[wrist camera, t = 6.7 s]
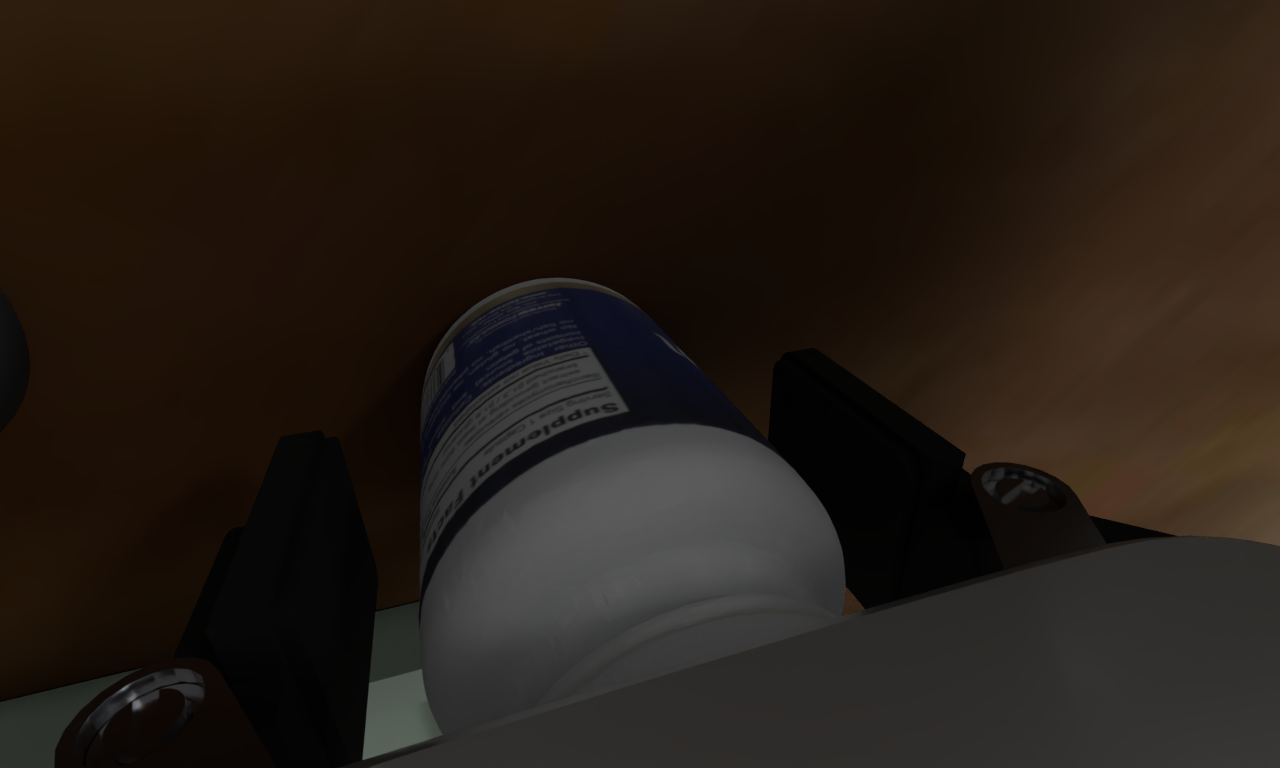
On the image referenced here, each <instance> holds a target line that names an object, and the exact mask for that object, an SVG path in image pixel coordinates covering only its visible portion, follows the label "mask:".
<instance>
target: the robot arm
mask: <svg viewBox="0 0 1280 768" xmlns="http://www.w3.org/2000/svg"><path fill="white" fill-rule="evenodd" d="M768 441H769V442H770V443H771V444H772V445H773V446H774V447H775V448H776V449H777V450H778V452H779V453H780V454H781V455H782V456H783V458H784V459H785V460H786V461H787V462H788V463H789V464H790V465H791V466H792V467H793V468H794V470H795V471H796V472H797V473H798V474H799V475H800V477H801V478H802V479H803V480H804V481H805V483H806V484H807V485H808V486H809V487H810V489H811V490H812V491H813V492H814V493H815V495H816V496H817V497H818V499H819V500H820V502H821V503H822V505H823V506H824V508H825V510H826V511H827V513H828V515H829V517H830V519H831V521H832V523H833V526H834V528H835V530H836V532H837V535H838V538H839V542H840V545H841V548H842V552H843V558H844V567H845V583H846V586H847V588H848V589H849V590H850V591H851V593H852V594H853V595H854V596H855V597H856V599H857V600H858V601H859V602H860V603H861V605H862V606H863V607H864V608H865V610H862V611H858V612H855V613H851V614H848V615H845V616H841V617H838V618H834V619H831V620H827V621H824V622H821V623H817V624H814V625H810V626H807V627H803V628H800V629H797V630H793V631H790V632H786V633H783V634H780V635H776V636H773V637H769V638H766V639H763V640H759V641H756V642H752V643H749V644H746V645H742V646H739V647H735V648H732V649H729V650H725V651H722V652H718V653H715V654H712V655H708V656H705V657H702V658H698V659H695V660H691V661H688V662H685V663H681V664H678V665H674V666H671V667H668V668H664V669H661V670H658V671H654V672H651V673H647V674H644V675H641V676H637V677H634V678H631V679H627V680H624V681H621V682H617V683H614V684H611V685H607V686H604V687H601V688H597V689H594V690H591V691H587V692H584V693H581V694H577V695H574V696H571V697H567V698H564V699H561V700H557V701H554V702H551V703H547V704H544V705H541V706H538V707H534V708H531V709H528V710H524V711H521V712H518V713H514V714H511V715H508V716H504V717H501V718H498V719H494V720H491V721H488V722H484V723H481V724H478V725H474V726H471V727H468V728H464V729H461V730H458V731H454V732H451V733H448V734H445V735H441V736H438V737H435V738H432V739H429V740H425V741H422V742H419V743H416V744H413V745H409V746H406V747H403V748H400V749H397V750H393V751H390V752H387V753H384V754H381V755H377V756H374V757H371V758H368V759H365V760H362V759H363V748H364V737H365V725H366V714H367V702H368V691H369V679H370V668H371V656H372V645H373V634H374V622H375V611H376V599H377V588H378V577H377V569H376V564H375V560H374V557H373V554H372V550H371V547H370V544H369V540H368V537H367V533H366V530H365V527H364V523H363V520H362V517H361V513H360V510H359V506H358V503H357V500H356V496H355V493H354V489H353V486H352V483H351V479H350V476H349V473H348V469H347V466H346V462H345V459H344V456H343V452H342V449H341V446H340V443H339V440H338V438H337V437H330V438H325V436H324V434H323V432H322V431H321V430H319V431H313V432H307V433H301V434H295V435H289V436H283V437H281V438H280V439H279V442H278V444H277V447H276V449H275V452H274V454H273V457H272V460H271V462H270V465H269V467H268V470H267V472H266V475H265V477H264V480H263V483H262V485H261V488H260V490H259V493H258V495H257V498H256V501H255V503H254V506H253V508H252V511H251V513H250V516H249V518H248V521H247V524H246V526H242V527H237V528H233V529H231V530H230V531H229V532H228V533H227V535H226V536H225V538H224V540H223V543H222V545H221V547H220V550H219V552H218V554H217V557H216V559H215V562H214V564H213V566H212V569H211V571H210V573H209V576H208V578H207V580H206V583H205V585H204V587H203V590H202V592H201V594H200V597H199V599H198V601H197V604H196V606H195V608H194V611H193V613H192V616H191V618H190V620H189V623H188V625H187V627H186V630H185V632H184V634H183V637H182V639H181V641H180V644H179V646H178V648H177V651H176V653H175V655H174V658H172V659H169V660H165V661H162V662H158V663H155V664H151V665H148V666H146V667H144V668H142V669H140V670H138V671H135V672H133V673H131V674H129V675H127V676H125V677H123V678H122V679H120V680H119V681H117V682H116V683H114V684H112V685H111V686H109V687H108V688H106V689H105V690H103V691H102V692H100V693H99V694H98V695H97V696H96V697H95V698H94V699H92V700H91V701H90V702H89V703H88V704H87V705H86V706H84V707H83V708H82V709H81V710H80V711H79V712H78V714H77V715H76V716H75V717H74V719H73V720H72V721H71V722H70V724H69V725H68V726H67V727H66V728H65V730H64V731H63V734H62V736H61V738H60V740H59V742H58V744H57V746H56V749H55V758H54V768H1280V546H1277V545H1272V544H1266V543H1261V542H1255V541H1249V540H1242V539H1234V538H1224V537H1205V536H1175V535H1171V534H1167V533H1162V532H1158V531H1154V530H1150V529H1145V528H1141V527H1137V526H1132V525H1128V524H1124V523H1119V522H1115V521H1111V520H1107V519H1102V518H1098V517H1094V516H1089V514H1088V513H1087V511H1086V509H1085V508H1084V506H1083V505H1082V503H1081V501H1080V500H1079V498H1078V497H1077V495H1076V494H1075V493H1074V492H1073V490H1072V489H1071V488H1070V487H1069V486H1068V485H1067V484H1065V483H1064V482H1062V481H1061V480H1059V479H1058V478H1057V477H1055V476H1053V475H1050V474H1048V473H1046V472H1044V471H1042V470H1039V469H1036V468H1033V467H1029V466H1026V465H1021V464H1015V463H1006V462H994V463H988V464H983V465H981V466H979V467H977V468H976V469H974V471H973V472H972V474H969V473H968V472H967V471H965V470H964V469H963V468H962V466H963V462H964V458H965V453H964V452H963V451H961V450H960V449H958V448H957V447H955V446H954V445H953V444H951V443H950V442H948V441H947V440H945V439H944V438H943V437H941V436H940V435H938V434H937V433H935V432H934V431H933V430H931V429H930V428H928V427H927V426H925V425H924V424H923V423H921V422H920V421H918V420H917V419H915V418H914V417H913V416H911V415H910V414H908V413H907V412H905V411H904V410H903V409H901V408H900V407H898V406H897V405H895V404H894V403H893V402H891V401H890V400H888V399H887V398H885V397H884V396H882V395H881V394H880V393H878V392H877V391H875V390H874V389H872V388H871V387H870V386H868V385H867V384H865V383H864V382H862V381H861V380H860V379H858V378H857V377H855V376H854V375H852V374H851V373H850V372H848V371H847V370H845V369H844V368H842V367H841V366H840V365H838V364H837V363H835V362H834V361H832V360H831V359H830V358H828V357H827V356H825V355H824V354H822V353H821V352H820V351H818V350H817V349H814V348H811V349H805V350H799V351H793V352H787V353H785V354H784V355H783V356H782V358H781V361H777V362H776V363H775V365H774V370H773V382H772V395H771V408H770V421H769V435H768Z"/></svg>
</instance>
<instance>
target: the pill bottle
mask: <svg viewBox="0 0 1280 768" xmlns="http://www.w3.org/2000/svg"><path fill="white" fill-rule="evenodd" d="M419 579H420V605H419V635H420V647H421V666H422V675H423V682H424V688H425V693H426V697H427V700H428V703H429V707H430V710H431V712H432V714H433V717H434V719H435V721H436V723H437V725H438V727H439V729H440V731H441V733H442V734H443V735H445V734H448V733H451V732H454V731H458V730H461V729H464V728H468V727H471V726H474V725H478V724H481V723H484V722H488V721H491V720H494V719H498V718H501V717H504V716H508V715H511V714H514V713H518V712H521V711H524V710H528V709H531V708H534V707H538V706H541V705H544V704H547V703H551V702H554V701H557V700H561V699H564V698H567V697H571V696H574V695H577V694H581V693H584V692H587V691H591V690H594V689H597V688H601V687H604V686H607V685H611V684H614V683H617V682H621V681H624V680H627V679H631V678H634V677H637V676H641V675H644V674H647V673H651V672H654V671H658V670H661V669H664V668H668V667H671V666H674V665H678V664H681V663H685V662H688V661H691V660H695V659H698V658H702V657H705V656H708V655H712V654H715V653H718V652H722V651H725V650H729V649H732V648H735V647H739V646H742V645H746V644H749V643H752V642H756V641H759V640H763V639H766V638H769V637H773V636H776V635H780V634H783V633H786V632H790V631H793V630H797V629H800V628H803V627H807V626H810V625H814V624H817V623H821V622H824V621H827V620H831V619H834V618H838V617H841V616H842V612H843V607H844V599H845V585H846V583H845V567H844V558H843V552H842V548H841V545H840V542H839V538H838V535H837V532H836V530H835V528H834V526H833V523H832V521H831V519H830V517H829V515H828V513H827V511H826V510H825V508H824V506H823V505H822V503H821V502H820V500H819V499H818V497H817V496H816V495H815V493H814V492H813V491H812V490H811V489H810V487H809V486H808V485H807V484H806V483H805V481H804V480H803V479H802V478H801V477H800V475H799V474H798V473H797V472H796V471H795V470H794V468H793V467H792V466H791V465H790V464H789V463H788V462H787V461H786V460H785V459H784V458H783V456H782V455H781V454H780V453H779V452H778V450H777V449H776V448H775V447H774V446H773V445H772V444H771V443H770V442H769V441H768V440H767V439H766V438H765V437H764V436H763V435H762V434H761V433H760V432H759V431H758V430H757V429H756V428H755V427H754V426H753V425H752V424H751V423H750V421H749V420H748V419H747V418H746V417H745V416H744V415H743V414H742V413H741V412H740V411H739V410H738V409H737V408H736V407H735V406H734V405H733V404H732V403H731V402H730V401H729V399H728V398H727V397H726V396H725V395H724V394H723V393H722V392H721V391H720V390H719V389H718V388H717V387H716V385H715V384H714V383H713V382H712V381H711V380H710V379H709V378H708V377H707V376H706V375H705V374H704V373H703V372H702V371H701V370H700V368H699V367H698V366H697V365H696V364H695V363H694V362H693V361H692V360H691V359H690V358H689V357H688V356H687V355H686V354H685V353H684V352H683V351H682V350H681V349H680V348H679V347H678V345H677V344H676V343H675V342H674V341H673V340H672V339H671V338H670V337H669V336H668V335H667V334H666V333H665V332H664V331H663V330H662V329H661V328H660V327H659V326H658V325H657V324H656V323H655V322H654V321H653V319H652V318H650V317H649V316H648V315H647V314H646V313H645V312H644V311H642V310H641V309H640V308H639V307H638V306H637V305H635V304H634V303H633V302H631V301H630V300H628V299H627V298H626V297H624V296H623V295H621V294H619V293H617V292H615V291H613V290H611V289H609V288H607V287H604V286H602V285H599V284H596V283H593V282H589V281H584V280H578V279H571V278H543V279H536V280H531V281H526V282H522V283H519V284H515V285H512V286H510V287H507V288H505V289H502V290H500V291H498V292H496V293H494V294H492V295H490V296H488V297H487V298H485V299H483V300H482V301H480V302H479V303H477V304H476V305H474V306H473V307H472V308H470V309H469V310H468V311H467V312H466V313H465V314H463V315H462V316H461V317H460V318H459V319H458V320H457V321H456V322H455V323H454V324H453V325H452V327H451V328H450V329H449V330H448V332H447V333H446V334H445V336H444V337H443V338H442V340H441V341H440V343H439V345H438V347H437V348H436V350H435V352H434V354H433V357H432V359H431V361H430V364H429V366H428V370H427V373H426V377H425V382H424V386H423V393H422V402H421V422H420V574H419Z"/></svg>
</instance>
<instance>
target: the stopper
mask: <svg viewBox="0 0 1280 768" xmlns="http://www.w3.org/2000/svg"><path fill="white" fill-rule="evenodd" d="M29 372H30V362H29V350H28V346H27V342H26V338H25V334H24V331H23V329H22V326H21V324H20V322H19V319H18V317H17V315H16V313H15V311H14V309H13V308H12V306H11V304H10V303H9V301H8V299H7V298H6V296H5V294H4V293H3V292H2V291H1V289H0V431H1V430H3V429H4V428H5V426H6V425H7V424H8V423H9V422H10V420H11V419H12V418H13V417H14V416H15V414H16V412H17V410H18V408H19V407H20V405H21V403H22V401H23V399H24V396H25V392H26V389H27V386H28V380H29Z"/></svg>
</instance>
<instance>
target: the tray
mask: <svg viewBox="0 0 1280 768" xmlns="http://www.w3.org/2000/svg"><path fill="white" fill-rule="evenodd" d="M419 605H420V601H419V602H415V603H411V604H407V605H402V606H398V607H394V608H390V609H386V610H382V611H377V612H375V622H374V634H373V645H372V656H371V668H370V679H369V691H368V702H367V714H366V725H365V737H364V748H363V759H362V760H365V759H368V758H371V757H374V756H377V755H381V754H384V753H387V752H390V751H393V750H397V749H400V748H403V747H406V746H409V745H413V744H416V743H419V742H422V741H425V740H429V739H432V738H435V737H438V736H441V735H443V734H442V733H441V731H440V729H439V727H438V725H437V723H436V721H435V719H434V717H433V714H432V712H431V710H430V707H429V703H428V700H427V697H426V693H425V688H424V682H423V675H422V666H421V647H420V635H419ZM140 669H142V668H140ZM140 669H136V670H132V671H127V672H123V673H119V674H115V675H111V676H107V677H102V678H98V679H94V680H90V681H86V682H82V683H77V684H73V685H69V686H65V687H61V688H57V689H52V690H48V691H44V692H40V693H36V694H32V695H27V696H23V697H19V698H15V699H11V700H7V701H2V702H0V768H54V758H55V749H56V746H57V744H58V742H59V740H60V738H61V736H62V734H63V731H64V730H65V728H66V727H67V726H68V725H69V724H70V722H71V721H72V720H73V719H74V717H75V716H76V715H77V714H78V712H79V711H80V710H81V709H82V708H83V707H84V706H86V705H87V704H88V703H89V702H90V701H91V700H92V699H94V698H95V697H96V696H97V695H98V694H99V693H100V692H102V691H103V690H105V689H106V688H108V687H109V686H111V685H112V684H114V683H116V682H117V681H119V680H120V679H122V678H123V677H125V676H127V675H129V674H131V673H133V672H135V671H138V670H140Z"/></svg>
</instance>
